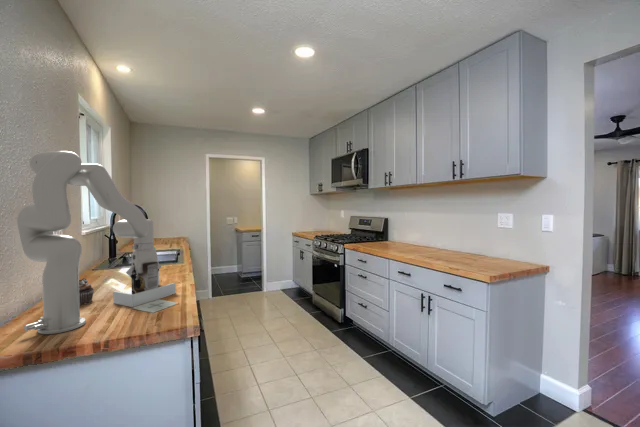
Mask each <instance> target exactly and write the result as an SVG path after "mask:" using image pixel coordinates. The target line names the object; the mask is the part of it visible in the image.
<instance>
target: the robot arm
mask: <svg viewBox="0 0 640 427" xmlns="http://www.w3.org/2000/svg"><path fill="white" fill-rule="evenodd" d="M82 162H83V161H82V158H81V157H80V155H78V154H77V153H75V152H73V151H68V150H56V151H47V152H46V151H45V152H44V151H43V152H38V153H36V154H34V155H33V156H32V157H31V158H30V160H29V167H30V169H31V171H32V172H33V173H34V174H35V176H34V177H33V181H32V184H31V192H32V193H31V194H32V198H33V199H32V200H33V203H31V204H28V205H25V206H24V207H22V208H21V209H20V210H19V212H18V215H17V217H16V218H17V219H16V223H17V228H18V233H19V234H18V235H19V239H20V242H21V247H22V251H23V253H24V255H25V257H27V258H28V259H29V260H31V261H34V262H40V263H46V264H45V267H44V269H43V272H42V275H41V276H42V277H41V278H42V279H41V282H42V283H41V284H42V308H43V309H42V312H43V316H41V317H39V319H38V320H36V322H32V323H28V324H25V325H24V327H23V330H24V331H25V332H28V331H31V330H34V331H37V333H38V334H40V335H54V334H55V335H56V334H60V333H65V332H69V331H73V330H76V329H78V328H80V327H82V326H84V325H85V324H86V322H87V321H86V318H85V317H81V311H80V310H81V307H80V306H81V305H80V300H79V280H80V261H81V255H82V250H83V249H82V248H83V247H82V245H81V242H80V240H78V238H76V237H74V236H70V235H67V234H54V233H55V232H63V231H65V230H67V229H68V228H69V227H70V226H71V224H72V217H71V216H72V215H71V210H70V206H69V199H68V193H67V192H68V191H67V188H68V185H71V186H75V187H86V188H87V189H88V190H89V192H90V194H91V195H92V197H93V198H94V200H95V201H96V203H97V205H98V206H99V207H101V208H103V209H104V210H107V211H110V212H112V213H114V214H116V215H118V216H120V217H122V218H123V219H121V220H118V221H116V222H115V223H114V224H113V227H112V232H113V234H114V235H116V236H117V237H119V238H133V240H134V241H133V245H132V246H131V248H132V249H133V251H132V254H131V255H132V256H131V263H130V264H131V265H130V267H129V268H128V269H127V271H125V273H126V275H128V277H129V278H131V280H132V279H133V286H134V288H136V289H139V288H140V280H139V276H140V274H142V273H143V264H145V263H150V262H159V260H158V255H157V254H158V253H157V250H156V248H155V249H154V247H155V245H154V244H155V243H154V220H152V219H150V218H148V219H147V218H146V216H145V214H144V213H143V212H142V210H141V209H139V207H138V206H137V205H135V204H134V203H133V202H132V201H130V200H129V199H127V198H125V197H124V196H123V195H122V193H121V192H120V190H119V189H118V187H117V186H116V184H115V182H114V180H113V178H112V177H111V175H110V174H109V172H108V171H107V169H106V168H105V167H104V165H101V164H99V163H93V162H92V163H91V162H89V163H88V162H87V163H82ZM161 268H162V264H160V263H158V271H159V272H160V270H161ZM134 269H135V271H134ZM132 272H133V273H134V274H132ZM136 274H137V275H136Z"/></svg>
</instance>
